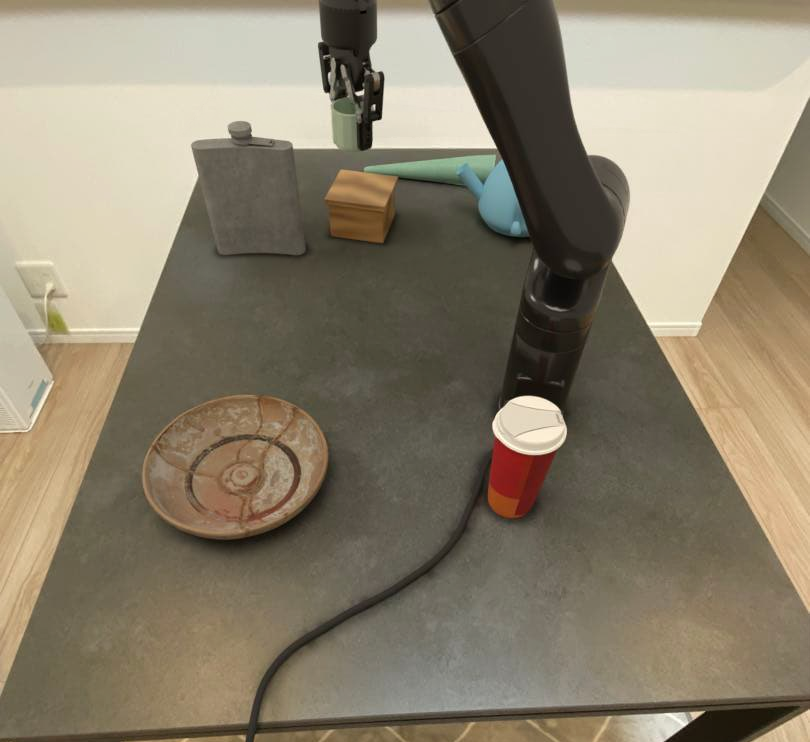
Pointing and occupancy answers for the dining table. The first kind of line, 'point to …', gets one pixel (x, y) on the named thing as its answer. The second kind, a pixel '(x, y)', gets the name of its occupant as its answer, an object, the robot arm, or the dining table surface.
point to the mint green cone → (438, 169)
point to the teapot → (496, 200)
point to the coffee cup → (523, 453)
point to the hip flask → (250, 192)
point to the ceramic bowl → (235, 466)
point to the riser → (361, 205)
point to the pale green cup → (345, 124)
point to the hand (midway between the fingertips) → (353, 139)
